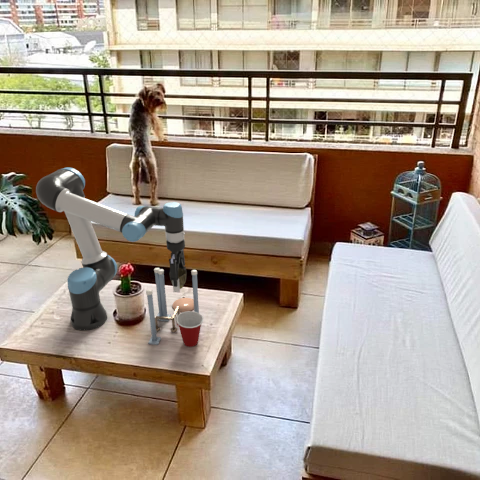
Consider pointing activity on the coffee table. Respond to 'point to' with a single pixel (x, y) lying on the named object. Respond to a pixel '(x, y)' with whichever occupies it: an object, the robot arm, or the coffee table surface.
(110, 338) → the coffee table surface
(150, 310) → the gate
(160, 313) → the gate
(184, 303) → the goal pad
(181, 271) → the ornate lamp shade
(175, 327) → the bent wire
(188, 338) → the plastic cup
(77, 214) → the robot arm
